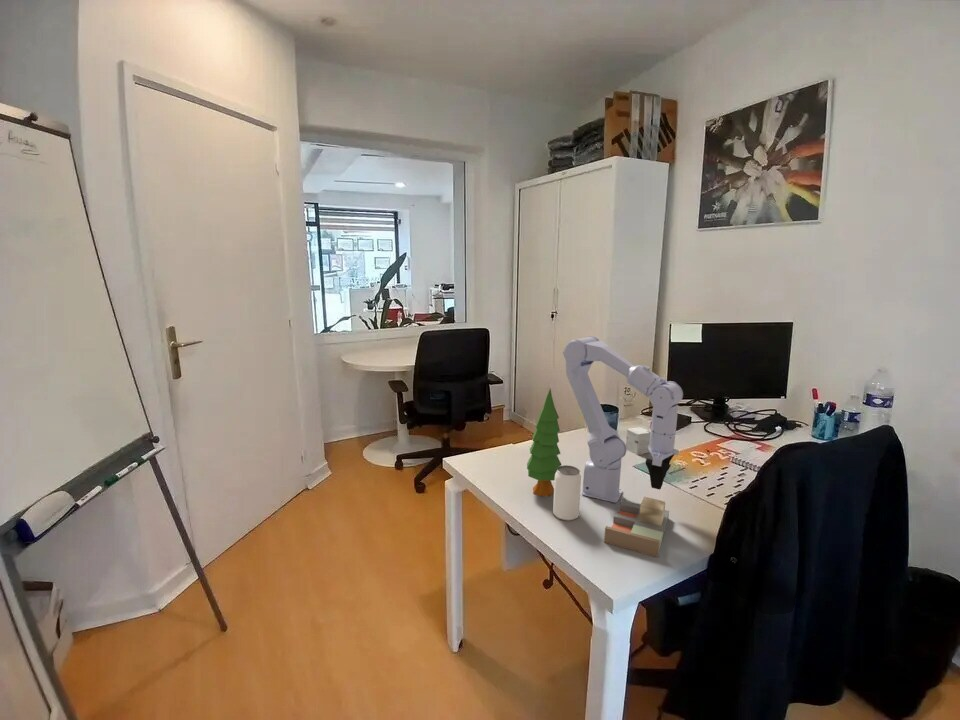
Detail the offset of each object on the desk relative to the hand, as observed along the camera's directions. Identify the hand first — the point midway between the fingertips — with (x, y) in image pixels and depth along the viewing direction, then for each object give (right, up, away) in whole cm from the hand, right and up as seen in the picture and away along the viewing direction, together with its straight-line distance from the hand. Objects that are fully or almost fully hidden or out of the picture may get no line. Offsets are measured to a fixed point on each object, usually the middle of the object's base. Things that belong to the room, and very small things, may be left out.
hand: (658, 482), depth 118 cm
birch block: (-3, -7, -5) cm, 9 cm away
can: (-23, -8, 0) cm, 25 cm away
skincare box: (+9, -1, +43) cm, 44 cm away
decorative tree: (-28, -6, +13) cm, 31 cm away
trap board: (-7, -10, -6) cm, 14 cm away
